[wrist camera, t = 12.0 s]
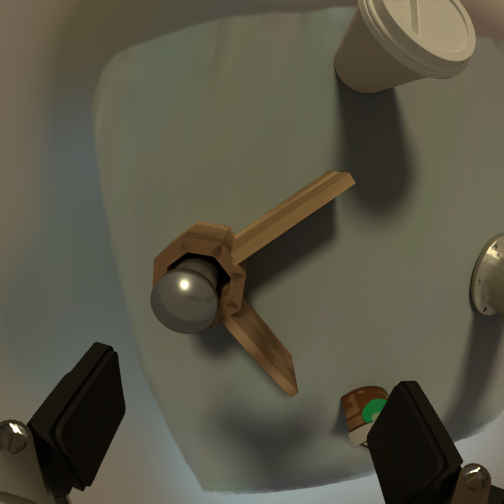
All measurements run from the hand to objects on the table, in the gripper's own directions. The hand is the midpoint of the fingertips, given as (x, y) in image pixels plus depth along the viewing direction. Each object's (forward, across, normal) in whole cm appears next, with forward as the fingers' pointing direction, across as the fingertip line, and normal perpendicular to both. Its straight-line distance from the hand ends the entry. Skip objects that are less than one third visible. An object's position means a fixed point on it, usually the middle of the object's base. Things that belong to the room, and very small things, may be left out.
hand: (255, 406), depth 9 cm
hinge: (+23, -3, +3) cm, 24 cm away
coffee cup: (+24, -8, -21) cm, 32 cm away
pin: (+23, +5, +3) cm, 24 cm away
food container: (+24, -21, +21) cm, 38 cm away
